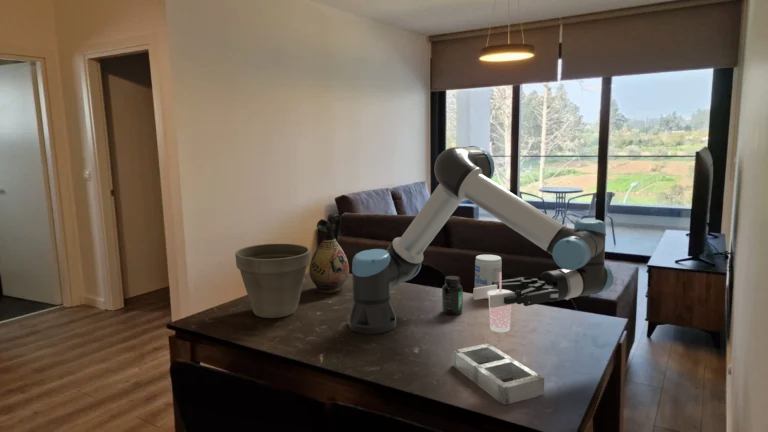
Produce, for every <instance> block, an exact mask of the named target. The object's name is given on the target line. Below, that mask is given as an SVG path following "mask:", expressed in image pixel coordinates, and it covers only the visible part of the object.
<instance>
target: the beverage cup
mask: <svg viewBox="0 0 768 432" xmlns="http://www.w3.org/2000/svg"><path fill="white" fill-rule="evenodd" d="M502 274H503V273H502V271H501V272H500V282H499V289H494V290H489V291H488V292H487V294H488V297H489V299H488V311H489V312H488V313H489V327H490V330H491V331H493V332H495V333H506V332H509V331H510V329H511V318H512V316H511V315H512V305H513V304H511V305H505V306H500V307H494V308H491V307H490V296H491V295H496V294H502V293H508V292H512V291H509V290H504V289H501V284H502V279H503V277H502Z"/></svg>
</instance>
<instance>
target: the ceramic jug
mask: <svg viewBox="0 0 768 432" xmlns="http://www.w3.org/2000/svg"><path fill="white" fill-rule="evenodd" d="M334 220H335V223H334ZM341 224H342V218H341V215H340V214H338V213H331V214H329V216H328V218H327V220H325V219H324V218H323V219H322V218H321V219H319V221H317V223H316V227H317V229H318V230H320V231H323V232H324V233H325V236H324V237H323V239H322V241H321V243H320V244H318V247H317V248H316V250H315V252H314V253H313V255H312V258H311V259H310V263H309V273H308V274H309V277H310V280H311V281H312V283H313V285H314V286H315V287H316V291H317V292H318V293H321V294H322V293H324V294H332V293H336V292H340V291H341V290H342V289H341V288H342V287H343V285H344V284H345V282H346V280H348V278H349V274H350V266H349V261H348V258H347V255H346V254H345V252H344V250H343V249H342V246H340V244H339V243H338V242H339V239H338V238H339V235H340V234H339V233H340V229H341Z"/></svg>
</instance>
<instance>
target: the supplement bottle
mask: <svg viewBox="0 0 768 432" xmlns="http://www.w3.org/2000/svg"><path fill="white" fill-rule="evenodd" d="M444 279H445V280H444V285H442V288H441V303H442V304H441V309H442V313H443V314H445V315H448V316H458V315H461V314H462V313H463V307H464V306H463V305H464V303H463V301H464V300H463V299H464V297H463V295H464V293H463V291H464V290H463V289H464V288H463V286H462V285H461V281H460V279H461V278H460V276H457V275H447V276H445V278H444Z"/></svg>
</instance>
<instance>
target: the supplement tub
mask: <svg viewBox="0 0 768 432" xmlns="http://www.w3.org/2000/svg"><path fill="white" fill-rule="evenodd" d="M502 267H503V266H502V257H501V256H499V255H495V254H480V255H479V254H478V255H476V256H475V261H474V288H477V287H484V286H490V285H492V282H493V281H500V272H502V269H503V268H502ZM485 299H486V300H487V299H488V300H489V298H484V300H485Z"/></svg>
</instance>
